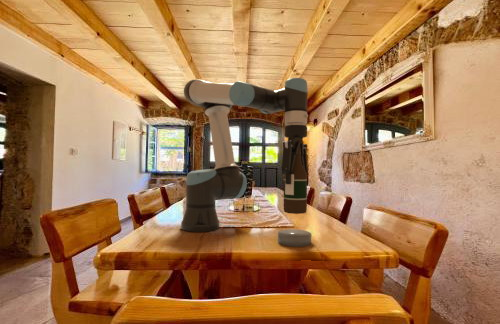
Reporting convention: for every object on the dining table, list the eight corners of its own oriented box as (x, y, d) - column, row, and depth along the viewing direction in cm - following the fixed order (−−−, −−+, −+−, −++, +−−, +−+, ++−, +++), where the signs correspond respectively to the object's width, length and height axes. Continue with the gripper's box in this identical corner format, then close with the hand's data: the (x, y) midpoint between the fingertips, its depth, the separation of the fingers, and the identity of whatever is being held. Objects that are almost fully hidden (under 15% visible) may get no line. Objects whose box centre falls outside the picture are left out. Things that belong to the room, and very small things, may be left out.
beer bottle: (309, 214, 87) (309, 139, 88) (284, 213, 87) (285, 139, 88) (304, 210, 95) (305, 141, 95) (282, 210, 95) (282, 141, 96)
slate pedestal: (271, 242, 90) (271, 233, 90) (287, 236, 99) (287, 227, 99) (302, 249, 83) (302, 238, 83) (316, 241, 92) (316, 231, 92)
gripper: (292, 120, 81) (291, 197, 81) (317, 128, 98) (317, 192, 97) (270, 122, 85) (269, 195, 85) (298, 129, 102) (298, 190, 102)
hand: (295, 193), depth 91 cm, fingers closed on beer bottle, 8 cm apart
